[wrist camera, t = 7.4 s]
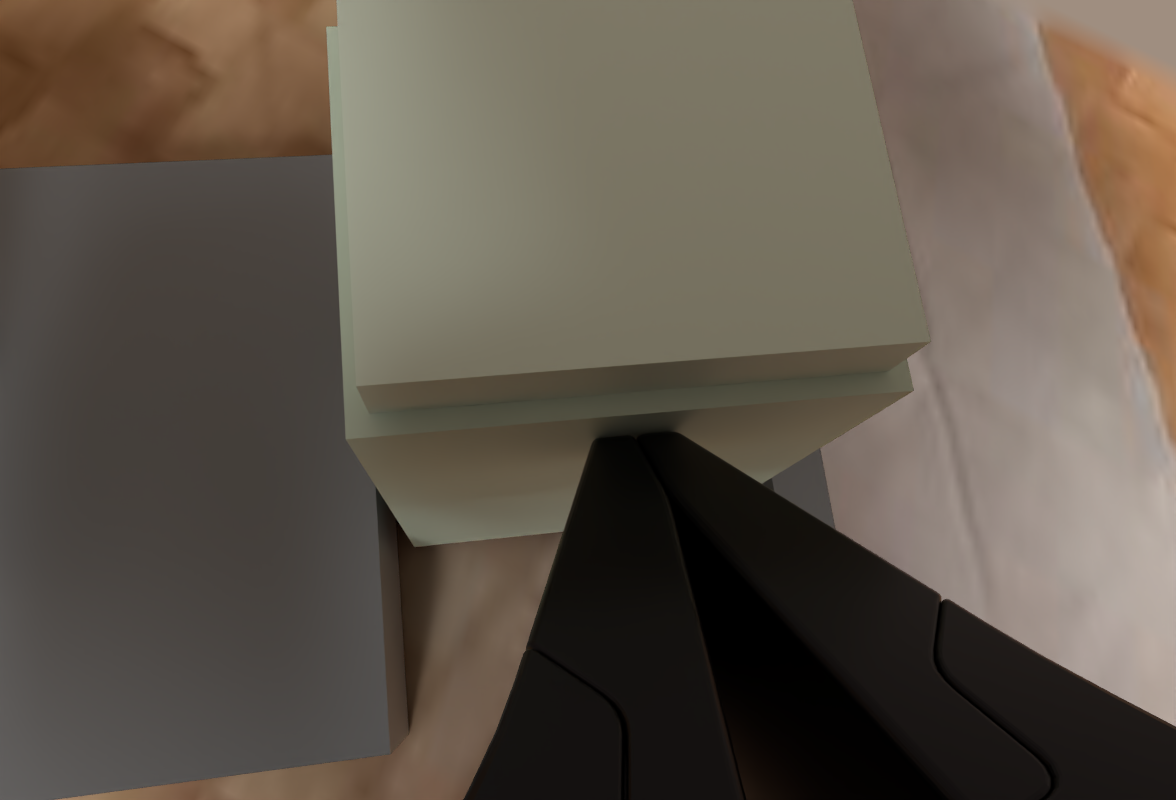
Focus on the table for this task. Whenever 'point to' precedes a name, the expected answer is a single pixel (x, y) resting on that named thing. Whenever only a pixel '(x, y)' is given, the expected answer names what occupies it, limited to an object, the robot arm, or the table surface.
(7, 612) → the gray two-slot stand
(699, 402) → the pale green rectangular block
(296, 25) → the table surface
